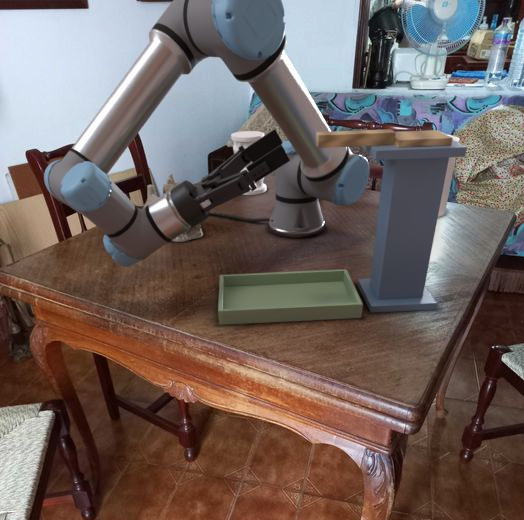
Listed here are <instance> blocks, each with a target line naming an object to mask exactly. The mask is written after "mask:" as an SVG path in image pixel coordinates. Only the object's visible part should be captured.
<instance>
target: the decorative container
mask: <svg viewBox="0 0 524 520" xmlns="http://www.w3.org/2000/svg"><path fill="white" fill-rule="evenodd" d="M263 136H265V132H262V131H258V130H243V131H235V132H233V133H231V134H230V137H231V141H233V145H232V151H233V155H234V154H235V153H236V152H237V151H238V150H239V149H238V148H239V147H240V146H242V145H243V147H244V149H245V148H247V147H248V146H250V145H251V144H253V143H254V142H256V141H257V140H259V139H260V138H262V137H263ZM250 164H252V161H251V162H250V163H249V164H248V165H247V166H249V165H250ZM247 166H246V167H247ZM246 167H245V168H244V169H243V170H241V171H240V172H242V171H244V170H247V168H246ZM247 171H248V170H247ZM248 172H249V171H248ZM264 180H265V177H264V178H262V179H261V180H259V181H257V182H256V183H255V181H254V183H255V185H256V186H257V188H256V189H255V190H254V191H251V190H250V191H249V192H247V193H244V194H242V195H241V196H255V195H256V196H257V195H260V194H261V195H262V194H264V193H266V192H267V190H268V189H267V184H265V183H264Z"/></svg>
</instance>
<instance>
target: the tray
mask: <svg viewBox="0 0 524 520" xmlns="http://www.w3.org/2000/svg"><path fill="white" fill-rule="evenodd" d="M218 284H219V285H218V304H217V315H218V316H217V317H218V325H219V326H224V325H225V326H227V325H243V324H246V325H247V324H265V323H268V324H269V323H288V322H307V321H326V320H327V321H329V320H346V319H361V318H362V315H363V308H364V307H363V306H364V304H363V301H362V299H361V297H360V295H359V293H358V290H357V289H356V286H355V284H354V282H353V280H352V278H351V276H350V274H349V271H348V269H347V268H345V269H321V270H320V269H319V270H300V271H279V272H275V271H274V272H258V273H257V272H256V273H234V274H233V273H232V274H220V275H219V283H218Z"/></svg>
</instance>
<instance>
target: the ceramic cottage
mask: <svg viewBox="0 0 524 520" xmlns="http://www.w3.org/2000/svg"><path fill="white" fill-rule="evenodd" d="M180 183H181V182H179V181H178V182H176V180H175V178H174V175H173V173H168V177H166V183H164V184H163V185H162V195H163V194H165V193H170V192H171V189H173V188H174V187H176V186H177V185H179V184H180ZM146 187H147V188H146V189H147V199H146V201H145V203H144V205H143V206H144V207H146V206H148V205H149V204H150V203H151V202H153V201H154V200H156V199H157V198H159V197H160V196H157V194H156V190H155V185H153V184H148V185H146ZM144 207H143V208H144ZM200 227H201V228H200ZM200 233H201V234H200ZM183 234H184V237H185V238H184V237H183V238H180V237H176V238H175V239H173V240H172V241H171V242H176V243H177V242H178V243H179V242H180V243H181V242H188V241H190V240H191V241H192V240H195V239H200V238H202V237H203V236H204V233H203V229H202V226H201V223H199V224H198V225H196V226H191V227H190V229H189V230H188V231H186V232H185V233H183ZM196 234H198V235H196ZM192 235H194V236H192ZM187 236H190V237H187Z"/></svg>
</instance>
